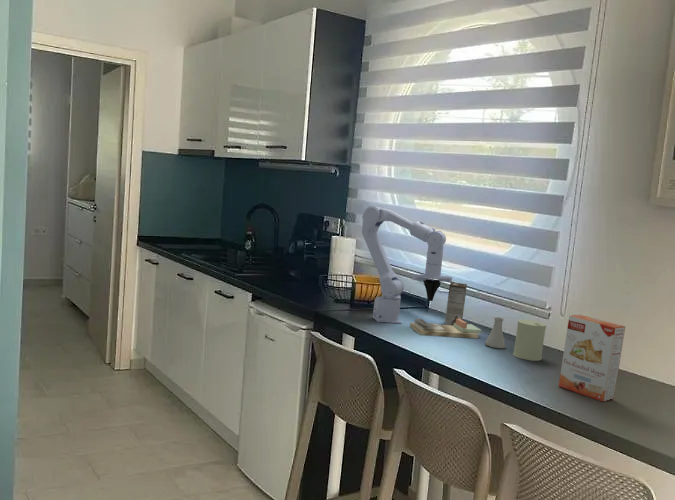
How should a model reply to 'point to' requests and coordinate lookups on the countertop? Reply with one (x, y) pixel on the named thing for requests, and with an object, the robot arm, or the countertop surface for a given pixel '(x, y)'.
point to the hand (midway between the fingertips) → (429, 300)
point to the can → (529, 340)
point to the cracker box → (591, 357)
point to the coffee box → (455, 303)
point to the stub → (466, 327)
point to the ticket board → (439, 330)
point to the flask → (496, 335)
